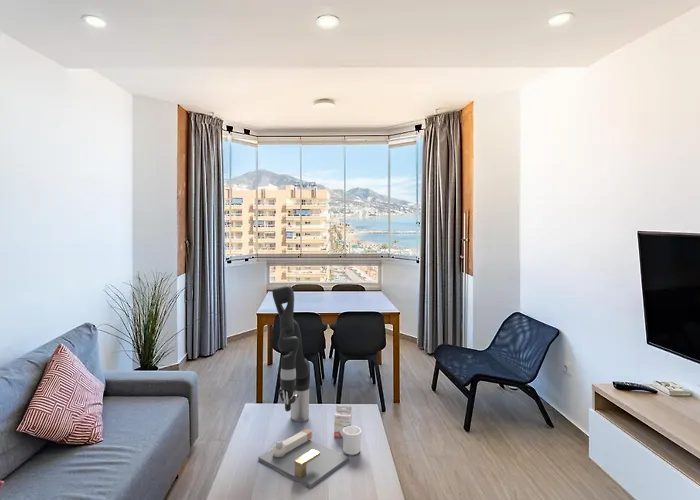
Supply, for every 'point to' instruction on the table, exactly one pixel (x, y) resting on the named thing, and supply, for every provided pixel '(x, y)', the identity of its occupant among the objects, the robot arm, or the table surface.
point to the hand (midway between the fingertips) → (287, 410)
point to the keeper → (304, 462)
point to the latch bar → (291, 443)
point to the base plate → (314, 469)
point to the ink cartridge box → (342, 420)
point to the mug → (351, 440)
